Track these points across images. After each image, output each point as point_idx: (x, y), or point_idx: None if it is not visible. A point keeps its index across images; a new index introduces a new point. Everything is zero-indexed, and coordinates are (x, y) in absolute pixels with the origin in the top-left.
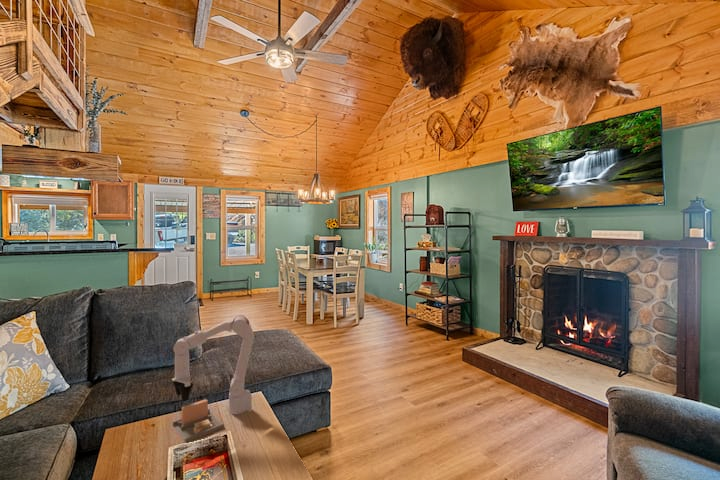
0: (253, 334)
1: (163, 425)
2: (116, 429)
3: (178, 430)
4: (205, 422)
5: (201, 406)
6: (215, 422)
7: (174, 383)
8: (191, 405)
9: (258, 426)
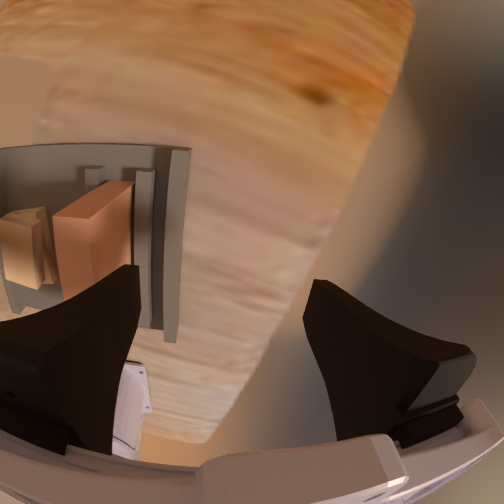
0: None
1: (262, 124)
2: (404, 6)
3: (103, 152)
4: (16, 267)
5: None
6: None
7: (396, 353)
8: (69, 285)
9: None
